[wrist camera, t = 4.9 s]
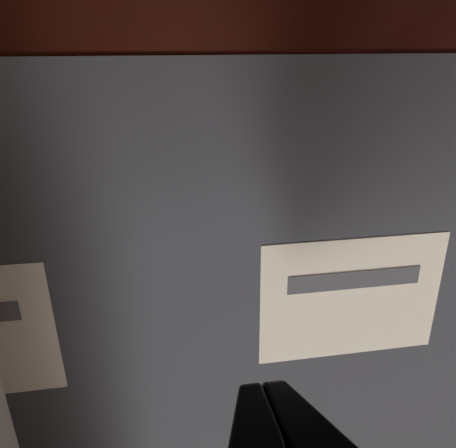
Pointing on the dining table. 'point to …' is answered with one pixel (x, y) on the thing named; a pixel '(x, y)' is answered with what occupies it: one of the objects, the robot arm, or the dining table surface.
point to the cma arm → (6, 424)
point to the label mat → (227, 244)
